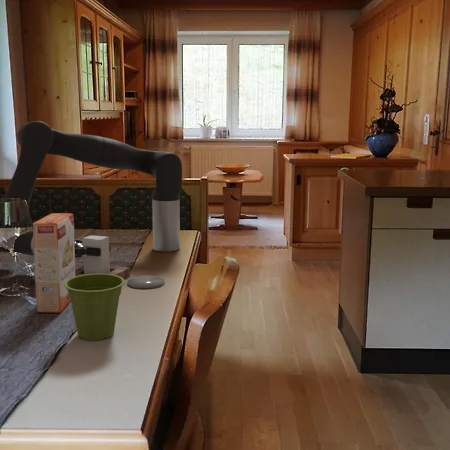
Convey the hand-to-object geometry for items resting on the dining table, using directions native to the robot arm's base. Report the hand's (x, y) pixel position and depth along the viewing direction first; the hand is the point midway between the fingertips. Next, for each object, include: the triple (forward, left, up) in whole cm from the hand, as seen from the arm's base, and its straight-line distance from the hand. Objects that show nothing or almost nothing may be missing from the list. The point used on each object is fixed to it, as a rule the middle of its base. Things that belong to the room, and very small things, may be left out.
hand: (104, 250), depth 142 cm
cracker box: (+20, -1, -9) cm, 22 cm away
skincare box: (0, -3, -9) cm, 9 cm away
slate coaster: (-2, +11, -9) cm, 14 cm away
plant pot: (+33, +18, -9) cm, 39 cm away
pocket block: (0, -3, -9) cm, 9 cm away
